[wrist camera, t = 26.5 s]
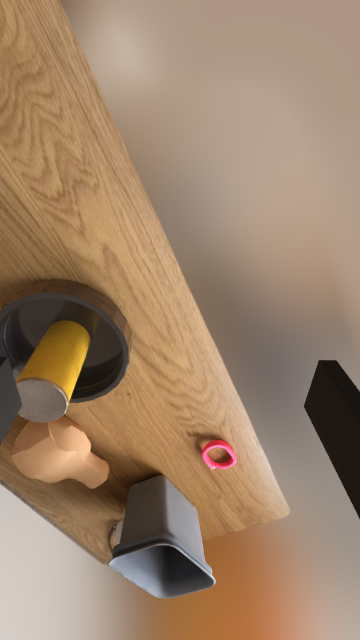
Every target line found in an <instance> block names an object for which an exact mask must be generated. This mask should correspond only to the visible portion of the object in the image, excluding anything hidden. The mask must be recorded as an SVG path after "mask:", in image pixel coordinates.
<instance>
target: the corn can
mask: <svg viewBox="0 0 360 640" xmlns="http://www.w3.org/2000/svg"><path fill="white" fill-rule="evenodd" d="M89 346H90V336H89V334H88V332H87V331H86V329H85V328H84V327H83V326H81V325H80V324H78V323H76V322H73V321H67V320H63V321H58V322H55V323H53V324H52V325H51V326H50V327H49V328H48V330H47V331H46V333H45V335H44V336H43V338H42V339H41V341H40V343H39V344H38V346H37V348H36V349H35V351H34V352H33V354H32V356H31V357H30V359H29V361H28V362H27V364H26V365H25V367H24V369H23V370H22V372H21V374H20V375H19V377H18V378H17V380H16V385H17V389H18V392H19V395H20V398H21V402H22V407H21V409H20V410H19V412H18V415H20V416H21V417H23V418H25V419H28V420H31V421H35V422H50V421H54V420H57V419H59V418H60V417H62V416H63V415H64V414H65V412H66V410H67V408H68V404H69V401H70V398H71V395H72V393H73V390H74V387H75V384H76V382H77V379H78V376H79V373H80V371H81V368H82V365H83V362H84V360H85V357H86V354H87V351H88V349H89Z"/></svg>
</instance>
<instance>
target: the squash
mask: <svg viewBox="0 0 360 640" xmlns="http://www.w3.org/2000/svg"><path fill="white" fill-rule="evenodd" d="M90 449H91V443H90V441H89V440H88V438H87V437H86V435H85V434H84V432H83V430H82V429H81V427H80V426H79V425H78V424H76V423H75V422H73V421H72V420H70V419H69V418H67V417H65V416H62V417H60V418H59V419H57V420H54V421H50V422H35V421H31V420H29V421H28V423H27V424H26V425H25V427H24V428H23V430H22V431H21V433H20V434H19V436H18V437H17V439H16V440H15V443H14V447H13V450H12V453H11V458H12V460H13V461H14V463H15V465H16V466H17V468H18V470H19V471H21V472H22V473H23V474H24V475H25V476H27V477H28V478H34V479H40V480H42V481H45V482H47V483H54V482H58V481H60V480H62V479H65V478H74V479H76V480H78V481H80V482H82V483H84V484H85V485H86V486H87V487H88V488H91V489H94V488H96V487H98V486H99V485H101V484H102V483H103V482H104V481H106V480H107V477H108V474H109V466H108V464H107V462H106V461H105V460H103V459H100V458H99V457H97V456H96V455H95V454H93V453H92V452H91V451H90Z"/></svg>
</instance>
